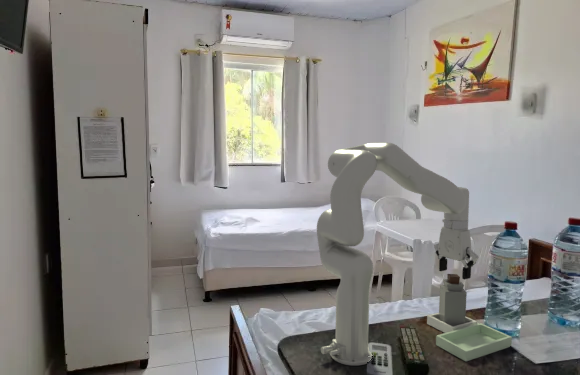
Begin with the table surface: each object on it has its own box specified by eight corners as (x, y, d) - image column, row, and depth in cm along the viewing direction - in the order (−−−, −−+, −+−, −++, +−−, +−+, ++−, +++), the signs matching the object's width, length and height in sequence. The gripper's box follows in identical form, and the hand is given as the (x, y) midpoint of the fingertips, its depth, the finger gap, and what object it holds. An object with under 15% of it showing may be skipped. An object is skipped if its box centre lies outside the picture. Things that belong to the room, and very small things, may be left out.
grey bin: (452, 336, 132) (453, 328, 132) (427, 323, 142) (427, 315, 141) (476, 330, 137) (476, 321, 137) (449, 317, 147) (450, 309, 146)
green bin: (465, 361, 117) (466, 351, 116) (435, 344, 127) (436, 335, 126) (511, 346, 126) (511, 336, 125) (480, 331, 136) (480, 323, 135)
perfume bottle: (458, 323, 142) (460, 272, 141) (464, 331, 136) (467, 279, 134) (438, 322, 143) (440, 272, 141) (443, 330, 136) (445, 278, 135)
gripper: (427, 221, 142) (426, 269, 144) (470, 230, 127) (468, 284, 128) (443, 219, 145) (442, 266, 147) (486, 227, 130) (484, 280, 132)
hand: (454, 274), depth 138 cm, fingers open, 9 cm apart
